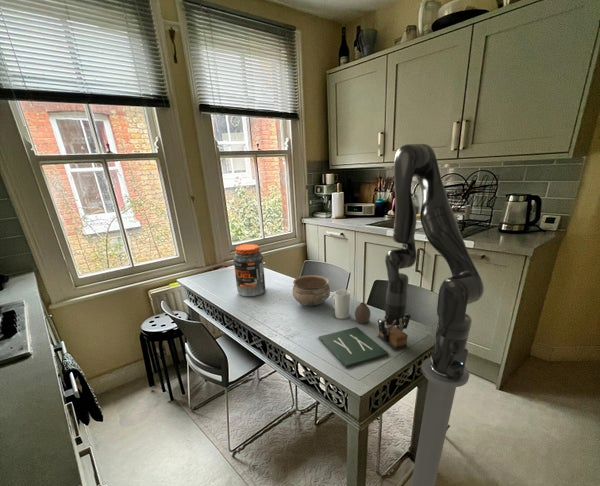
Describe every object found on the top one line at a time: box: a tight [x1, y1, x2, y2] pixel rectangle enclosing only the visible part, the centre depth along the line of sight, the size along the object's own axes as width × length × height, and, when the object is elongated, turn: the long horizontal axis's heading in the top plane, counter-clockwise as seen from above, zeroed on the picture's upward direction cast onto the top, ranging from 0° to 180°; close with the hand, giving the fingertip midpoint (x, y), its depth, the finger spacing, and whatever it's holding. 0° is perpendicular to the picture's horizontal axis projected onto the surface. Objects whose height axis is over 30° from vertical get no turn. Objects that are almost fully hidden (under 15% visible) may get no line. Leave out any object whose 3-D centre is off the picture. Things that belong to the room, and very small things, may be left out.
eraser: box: [378, 325, 409, 351], centre depth 124 cm, size 11×5×6 cm, turn 23°
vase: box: [354, 302, 371, 324], centre depth 140 cm, size 7×7×9 cm
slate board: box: [318, 326, 389, 369], centre depth 123 cm, size 22×18×1 cm
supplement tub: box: [233, 243, 266, 297], centre depth 172 cm, size 16×16×26 cm
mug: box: [330, 289, 351, 320], centre depth 146 cm, size 10×7×12 cm, turn 41°
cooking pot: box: [291, 275, 331, 308], centre depth 158 cm, size 25×19×12 cm
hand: (392, 339), depth 125 cm, fingers closed on eraser, 5 cm apart
